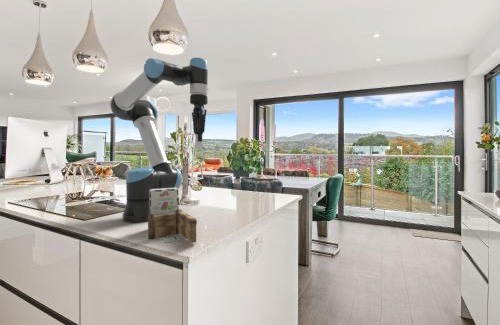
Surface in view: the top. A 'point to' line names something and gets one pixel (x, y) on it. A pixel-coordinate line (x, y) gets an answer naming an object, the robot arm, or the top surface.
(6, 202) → the top surface
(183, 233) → the fence gate
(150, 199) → the candy bar box
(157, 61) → the robot arm
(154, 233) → the fence base
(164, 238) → the card
